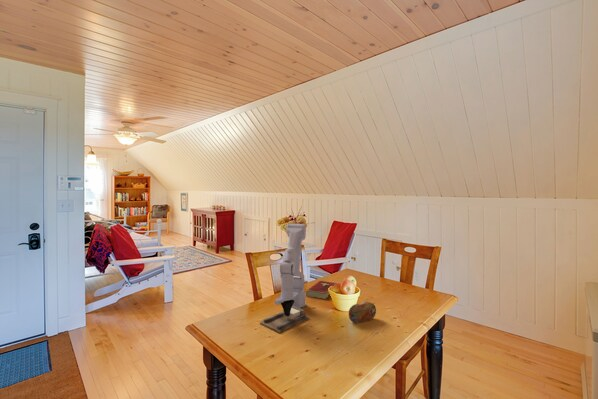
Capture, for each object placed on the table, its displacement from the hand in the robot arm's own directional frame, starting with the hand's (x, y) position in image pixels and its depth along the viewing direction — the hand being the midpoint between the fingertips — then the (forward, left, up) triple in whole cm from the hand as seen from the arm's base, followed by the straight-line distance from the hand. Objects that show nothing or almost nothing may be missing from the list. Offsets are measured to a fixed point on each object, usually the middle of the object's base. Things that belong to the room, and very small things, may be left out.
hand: (287, 315), depth 139 cm
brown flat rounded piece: (-25, +26, -3) cm, 36 cm away
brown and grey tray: (+1, 0, -2) cm, 3 cm away
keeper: (-4, 0, -2) cm, 4 cm away
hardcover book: (-42, -12, -3) cm, 44 cm away
